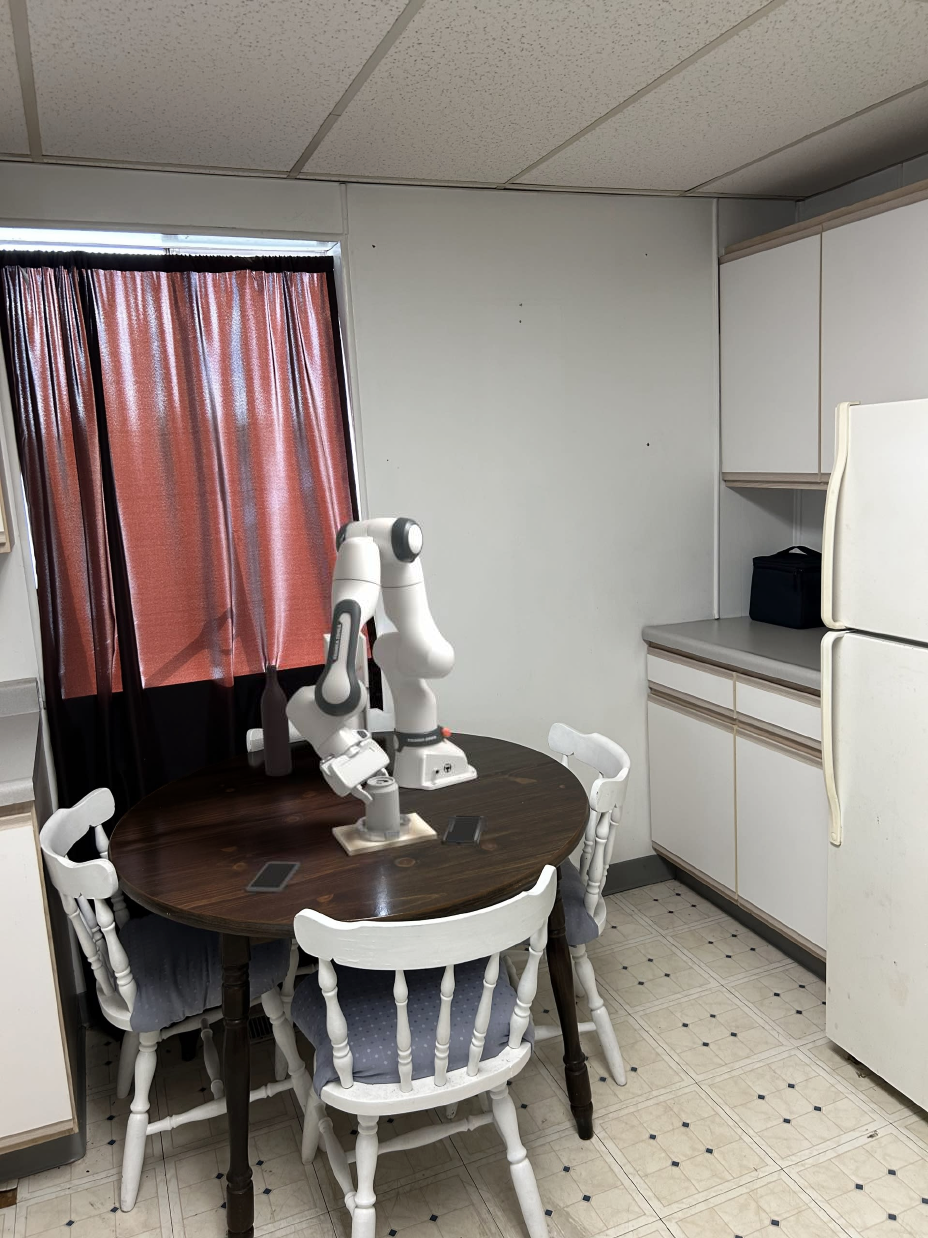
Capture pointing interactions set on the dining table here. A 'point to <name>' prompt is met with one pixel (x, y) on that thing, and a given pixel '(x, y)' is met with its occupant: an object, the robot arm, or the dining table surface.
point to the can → (382, 804)
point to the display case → (361, 669)
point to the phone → (464, 830)
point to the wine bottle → (275, 727)
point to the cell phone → (273, 877)
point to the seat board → (359, 846)
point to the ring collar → (383, 835)
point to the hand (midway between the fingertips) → (381, 794)
